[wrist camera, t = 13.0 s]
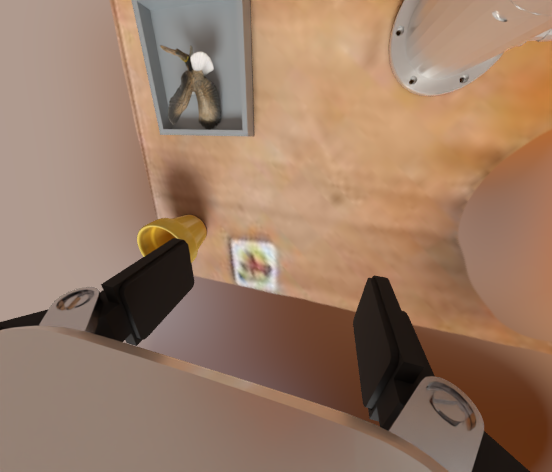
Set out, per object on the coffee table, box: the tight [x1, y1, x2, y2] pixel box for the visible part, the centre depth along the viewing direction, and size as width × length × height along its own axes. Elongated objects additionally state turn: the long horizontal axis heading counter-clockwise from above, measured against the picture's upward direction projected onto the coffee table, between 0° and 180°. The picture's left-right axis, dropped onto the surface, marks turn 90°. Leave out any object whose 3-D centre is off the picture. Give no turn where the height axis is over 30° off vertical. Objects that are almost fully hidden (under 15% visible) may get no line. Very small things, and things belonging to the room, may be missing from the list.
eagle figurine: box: [160, 45, 221, 130], centre depth 29 cm, size 8×7×9 cm
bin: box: [132, 0, 254, 136], centre depth 30 cm, size 16×17×3 cm
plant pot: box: [137, 215, 207, 263], centre depth 40 cm, size 10×10×10 cm
